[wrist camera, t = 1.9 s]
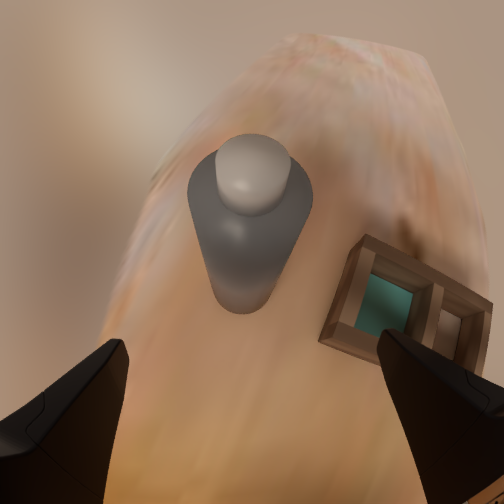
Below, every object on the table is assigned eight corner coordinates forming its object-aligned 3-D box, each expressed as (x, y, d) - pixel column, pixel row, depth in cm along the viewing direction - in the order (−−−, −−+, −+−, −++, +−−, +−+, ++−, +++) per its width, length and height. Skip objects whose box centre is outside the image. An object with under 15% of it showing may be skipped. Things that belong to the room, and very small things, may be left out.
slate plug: (256, 324, 21) (295, 249, 8) (202, 298, 22) (152, 188, 8) (280, 272, 23) (338, 142, 9) (228, 249, 23) (223, 102, 10)
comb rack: (453, 390, 19) (477, 390, 16) (317, 341, 21) (332, 337, 17) (470, 311, 22) (493, 303, 19) (350, 250, 24) (365, 233, 21)
